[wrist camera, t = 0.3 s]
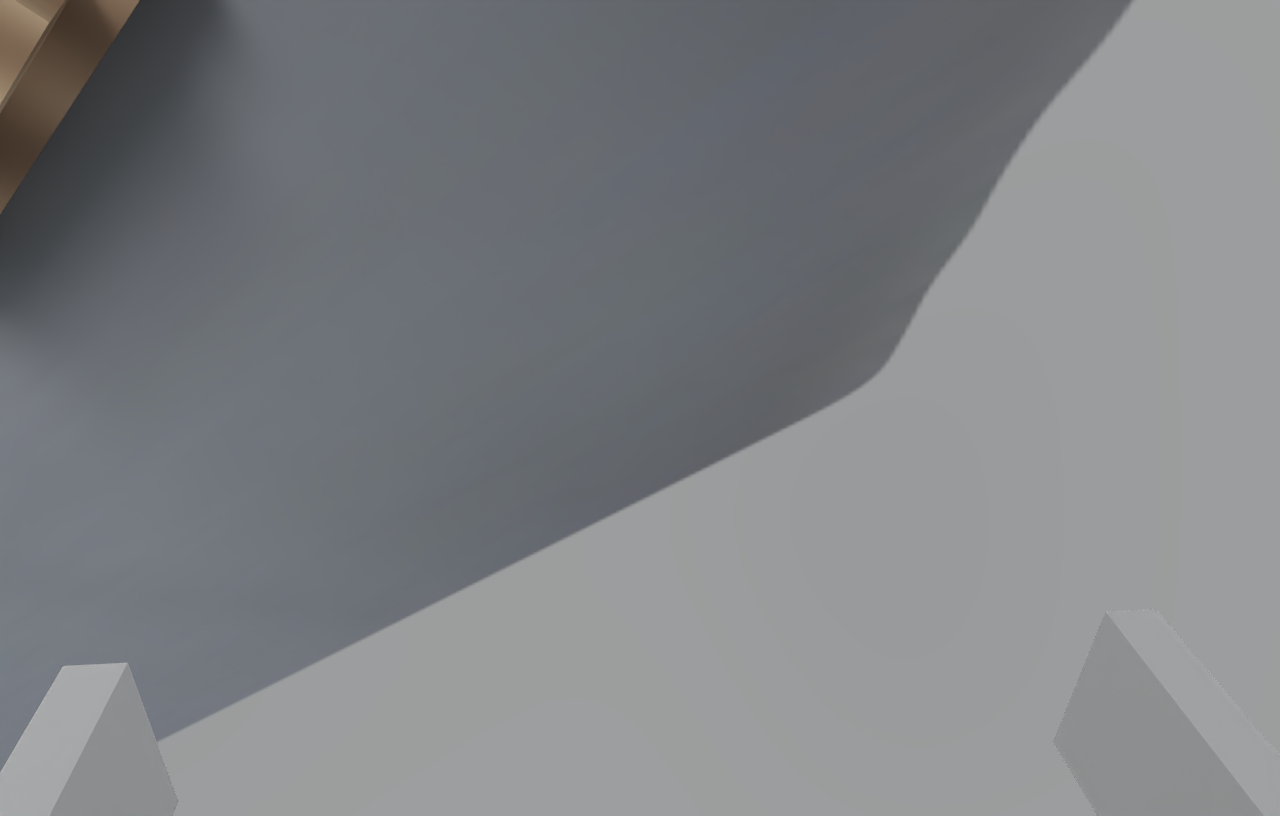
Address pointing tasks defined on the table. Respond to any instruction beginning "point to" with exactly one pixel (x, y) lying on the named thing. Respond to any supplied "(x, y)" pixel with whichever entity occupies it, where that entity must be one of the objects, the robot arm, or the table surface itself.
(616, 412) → the table surface
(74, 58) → the pedestal
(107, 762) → the robot arm
